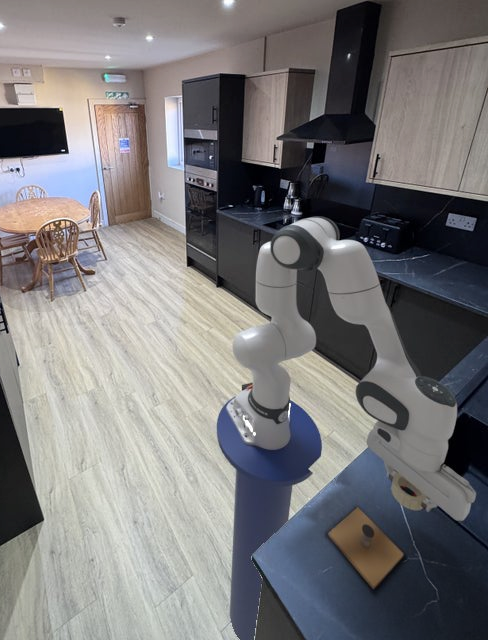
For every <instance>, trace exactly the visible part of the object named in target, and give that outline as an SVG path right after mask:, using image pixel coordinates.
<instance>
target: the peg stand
mask: <svg viewBox="0 0 488 640" xmlns="http://www.w3.org/2000/svg"><path fill="white" fill-rule="evenodd" d="M327 536H328V537H329V538H330V540H331V541H332V542H333V543H334V545H335V546H336V547H337V549H339V550H340V552H341V553H342V554H343V555H344V557H346V559H347V560H348V561H349V562H350V564H351V565H352V566H353V567H354V568H355V570H356V571H357V572H358V573H359V575H360V576H361V577H362V578H363V579H364V581H365V582H366V583H367V584H368V585H369V586H370V588H371V589H372V590H375V589H376V588H377V587H378V586H379V585H380V583H382V582H383V580H384V579H385V578H386V577H387V575H389V573H390V572H392V570H393V569H394V568H395V566H397V565H398V564H399V562H400V561H401V560H402V559H403V558H404V552H403V551H402V550H401V549H400V548H398V546H397V545H396V544H395V543H394V542H393V541H392V540H391V539H390V538H389V537H388V536H387V535H386V534H385V533H384V532H383V531H382V530H381V529H380V528H379V527H378V526H377V525H376V523H374V522H373V521H372V519H370V518H369V517H368V515H366V513H365V512H364V511H362V509H361V508H360V507H359V506H357V507H356V508H355V509H354V510H352V511H351V512H350V513H349V514H348V515H347V516H346V517H344V518H343V519H342V520H341V521H340V522H339V523H337V525H335V526H334V527H333V528H332V529H331V530H330V531H329V532H328V534H327Z"/></svg>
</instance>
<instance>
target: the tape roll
mask: <svg viewBox="0 0 488 640" xmlns="http://www.w3.org/2000/svg"><path fill="white" fill-rule="evenodd" d="M401 486H406V487H408V488H410V489H411V490H412V491H413V492H415V494H416V495H417V497H415V496H414V495H412V494H410V493H408V492H406V491H404V490H403V488H402V487H401ZM390 491H391V494H392V496H393V498H394V499H395V500H396V501H397V502H398V503H399V504H400V505H401V506H402V507H404V508H405V509H406V508H407V509H408V510H411V511H415V512H416V511H421V510H422V509H424V508H423V507H422V506H421V505H422V501H424V500H425V499H426V495H424V494H423V493H422V492H421V491H420V490H418V489H417V488H416V487H415V486H414V485H412V484H411V483H410V482H409V481H408V480H406V479H405V478H404V477H403V476H402V475H400V474H399V473H397V474H395V475H394V477H393V481H391V487H390Z"/></svg>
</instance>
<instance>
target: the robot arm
mask: <svg viewBox="0 0 488 640" xmlns="http://www.w3.org/2000/svg"><path fill="white" fill-rule="evenodd" d="M340 238H341V237H340V229H339V227H338V225H337V224H336V223H335V222H334V221H333V220H332V219H330V218H328V217H325V216H320V215H318V216H317V215H315V216H314V215H313V216H311V217H307V218H306V217H305V218H302V219H298V220H297V221H295V222H293V223H291V224H288V225H285V226H283V227H281V228H279V230H277V231H276V232H275V233H274V235H273V236H272V238H271V240H270V241H267V242H265V243H264V244H262V245H261V247H260V249H259V251H258V255H257V260H256V267H255V268H256V269H255V304H256V306H257V309H258V310H259V311H260V312H261V313H263V314H265V315H266V316H269V317H271V320H270V322H268V323H265V324H260V325H256V326H251V327H248V328H247V329H244V330H242V331H240V332H238V333H236V334H235V335H234V337H233V340H232V345H231V346H232V347H231V348H232V352H233V356H234V358H235V360H236V361H237V362H238V364H239V365H241V366H242V367H244V368H246V369H248V370H249V371H250V373H251V375H252V376H251V377H252V382H248V383H244V384H241V391H240V392H238V393H237V394H236V395H235V396H236V397H235V396H234V397H235V398H234V397H233V398H234V399H233V400H231V401H230V402H229V403H228V405H227V407H226V410H227V412H228V414H229V416H230V418H231V419H232V421H233V423H234V425H235V427H236V429H237V430H238V432H239V434H240V436H241V438H242V439H243V441H244V443H245V444H247V445H256V446H259V447H261V448H264V449H268V450H277V449H280V448H283V447H284V446H286V445H287V444H288V442H289V440H290V436H291V433H290V428H289V423H290V417H289V411H290V400H291V397H290V390H291V382H292V381H291V376H290V374H289V372H288V371H287V369H286V368H285V367H284V366H283V365H280V363H283V362H285V361H288V360H292V359H297V358H300V357H303V356H304V355H306V354H308V353H309V352H311V351H313V350H314V349H315V348H316V345H317V335H316V331H315V329H314V327H313V326H312V325H311V324H310V322H308V321H307V320H306V319H304V318H303V317H302V316H301V314H300V312H299V309H298V303H297V301H298V300H297V287H298V286H297V285H298V284H297V283H298V270H300V271H306V272H309V273H310V272H311V273H312V272H314V271H316V270H318V271H320V272H321V274H322V276H323V279H324V281H325V286H326V289H327V293H328V297H329V300H330V303H331V306H332V308H333V310H334V312H335V314H336V315H337V316H338V317H339V318H341V319H342V320H343V321H345V322H348V323H349V324H353V325H361V326H362V325H364V326H365V327H366V329H367V330H368V333H369V335H370V338H371V341H372V344H373V347H374V349H375V351H376V354H377V355H376V362H375V364H374V366H373V367H372V369H370V371H368V373H367V374H366V375H364V376H363V378H362V379H361V380H360V381H359V382H358V383H357V384H356V386H355V397H356V400H357V403H358V404H359V406H360V407H361V409H362V410H363V411H364V413H365V414H367V416H369V417H371V418H372V419H374V420H376V422H375V423H374V424H373V427H372V429H371V430H370V431H369V433H368V435H367V437H366V445H367V448H368V449H369V450H370V451H371V452H372V453H374V454H375V455H376V456H377V457H379V459H381V460H382V461H383V465H384V468H385V470H386V475H385V476H386V477H387V478H388V479H389V480H390V481H391V482H392V481H393V477H394V475H395V474H397V472H398V473H399V474H400V475H402V476H403V477H404V478H405V479H406V480H408V481H409V482H410V483H411V484H412V485H414V486H415V487H416V488H417V489H418V490H420V491H421V492H422V493H423V494H424V495H426V496H427V497H426V499H425V500H424V501H422V505H421V506H422V507H423V508H422V509H424V510H425V511H426V512H427V513H429V512H430V511H432V509H433V508H438V507H439V508H440V509H441V510H442V511H444V512H445V513H446V514H447V515H449V516H450V517H451V518H452V519H453V520H455V521H457V522H463V521H464V520H465V519H466V518H467V517H468V516H469V514H470V511H471V506H472V503H475V501H476V497H477V492H476V490H475V489H474V488H473V487H472V485H470V482H469V481H468V480H467V479H466V478H465V477H463V476H461V475H459V474H458V473H457V472H456V471H454V470H453V469H452V468H451V467H449V466H448V465H446V464H445V462H446V461H445V460H446V458H447V455H448V450H449V440H450V439H451V437H452V436H453V434H454V430H455V426H456V422H457V416H458V404H457V400H456V397H455V396H454V394H453V392H451V390H450V389H449V388H448V387H447V386H446V385H445V384H443V383H441V382H440V381H438V380H436V379H434V378H432V377H428V376H424V375H423V376H422V373H421V372H420V370H419V369H418V367H417V365H416V364H415V363H414V362H413V360H412V358H411V357H410V355H408V352H407V350H406V348H405V345H404V342H403V339H402V336H401V334H400V332H399V329H398V326H397V323H396V321H395V318H394V316H393V313H392V311H391V310H390V307H389V306H388V303H386V299H385V296H384V292H383V290H382V287H381V283H380V280H379V276H378V273H377V271H376V267H375V265H374V262H373V261H372V258H371V256H370V254H369V252H368V250H367V248H366V247H365V245H364V244H363V243H361V242H359V241H357V240H353V239H341V240H340Z"/></svg>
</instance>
